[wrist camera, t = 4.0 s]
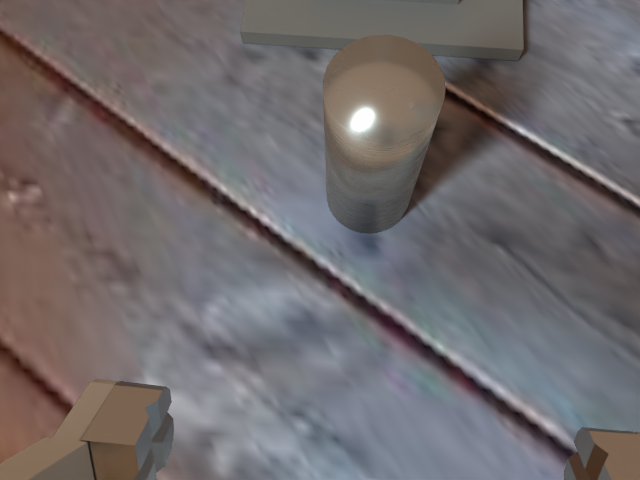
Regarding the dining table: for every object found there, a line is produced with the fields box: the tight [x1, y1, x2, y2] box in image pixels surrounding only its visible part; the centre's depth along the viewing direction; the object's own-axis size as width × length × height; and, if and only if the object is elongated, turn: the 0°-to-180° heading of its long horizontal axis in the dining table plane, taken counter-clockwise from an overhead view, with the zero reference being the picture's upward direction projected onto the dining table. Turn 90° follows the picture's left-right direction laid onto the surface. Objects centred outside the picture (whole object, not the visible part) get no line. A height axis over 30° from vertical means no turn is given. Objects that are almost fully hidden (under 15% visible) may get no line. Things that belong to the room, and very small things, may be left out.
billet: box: [323, 35, 445, 233], centre depth 25 cm, size 4×4×10 cm
